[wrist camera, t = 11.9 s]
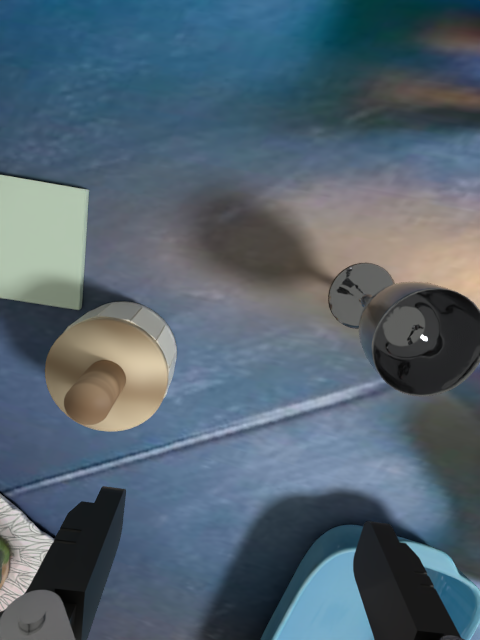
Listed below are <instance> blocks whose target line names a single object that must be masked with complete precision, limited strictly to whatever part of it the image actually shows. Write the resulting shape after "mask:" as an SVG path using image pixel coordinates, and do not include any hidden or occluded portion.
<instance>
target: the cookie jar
mask: <svg viewBox="0 0 480 640" xmlns="http://www.w3.org/2000/svg"><path fill="white" fill-rule="evenodd" d="M53 542H54V538H52V537H51V536H50V535H48V534H46V533H45V532H43V531H41V530H40V529H38V528H37V527H36V526H35V524H34V523H33V522H32V521H30V520H29V519H28V518H27V517H26V515H25V514H24V513H23V512H22V511H21V510H20V509H18V508H17V507H16V506H15V505H14V504H12V503H11V502H10V501H9V500H8V499H6V498H5V497H4V496H3V495H2V494H0V612H1V611H3V610H5V609H6V608H7V607H8V606H9V605H10V604H11V603H12V602H13V601H14V600H15V599H17V598H18V597H20V596H22V595H24V593H25V592H26V591H27V589H28V587H29V586H30V584H31V582H32V580H33V578H34V576H35V574H36V573H37V571H38V569H39V567H40V565H41V563H42V561H43V559H44V558H45V556H46V554H47V552H48V550H49V548H50V546H51V545H52V543H53Z"/></svg>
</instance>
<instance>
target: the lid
mask: <svg viewBox="0 0 480 640" xmlns="http://www.w3.org/2000/svg"><path fill="white" fill-rule="evenodd" d="M168 377H169V373H168V365H167V361H166V358H165V355H164V353H163V351H162V349H161V347H160V346H159V345H158V343H157V342H156V340H155V339H154V338H153V337H152V336H151V335H150V334H149V333H147V332H146V331H145V330H144V329H142V328H141V327H139V326H137V325H135V324H133V323H131V322H129V321H126V320H123V319H119V318H113V317H97V318H91V319H87V320H84V321H82V322H79V323H77V324H76V325H74V326H72V327H71V328H69V329H68V330H67V331H65V332H64V333H63V334H62V335H61V336H60V337H59V338H58V339H57V340H56V341H55V342H54V344H53V346H52V347H51V349H50V351H49V353H48V356H47V360H46V365H45V378H46V383H47V387H48V390H49V392H50V394H51V396H52V398H53V400H54V401H55V403H56V404H57V406H58V407H59V408H60V409H61V410H62V411H63V412H64V413H65V414H66V415H67V416H68V417H70V418H71V419H72V420H74V421H76V422H77V423H79V424H81V425H84V426H86V427H89V428H92V429H95V430H100V431H121V430H126V429H130V428H133V427H135V426H138V425H140V424H141V423H143V422H145V421H146V420H147V419H149V418H150V417H151V416H152V415H153V414H154V413H155V412H156V410H157V409H158V408H159V406H160V404H161V402H162V400H163V398H164V395H165V392H166V389H167V385H168Z"/></svg>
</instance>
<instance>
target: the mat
mask: <svg viewBox="0 0 480 640" xmlns="http://www.w3.org/2000/svg"><path fill="white" fill-rule="evenodd" d="M88 196H89V190H87V189H81V188H75V187H69V186H63V185H58V184H52V183H46V182H40V181H35V180H29V179H23V178H17V177H11V176H6V175H0V298H4V299H11V300H17V301H24V302H30V303H37V304H43V305H49V306H56V307H62V308H69V309H75V310H80V309H81V308H82V297H83V280H84V264H85V247H86V230H87V213H88Z"/></svg>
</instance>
